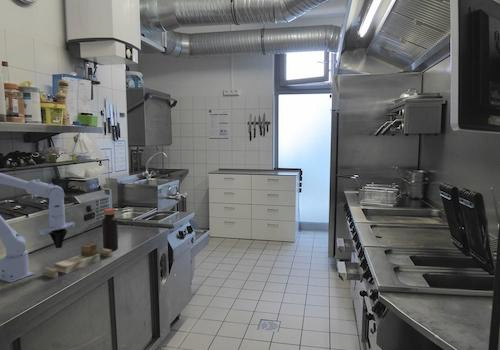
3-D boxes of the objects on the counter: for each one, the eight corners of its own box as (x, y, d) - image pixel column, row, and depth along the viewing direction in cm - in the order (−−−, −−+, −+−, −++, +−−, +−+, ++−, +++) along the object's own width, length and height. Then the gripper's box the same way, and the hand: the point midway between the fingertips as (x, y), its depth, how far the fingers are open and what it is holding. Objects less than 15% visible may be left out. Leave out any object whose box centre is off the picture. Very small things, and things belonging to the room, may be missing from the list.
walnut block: (88, 257, 154) (88, 247, 153) (81, 255, 156) (80, 245, 155) (96, 254, 158) (96, 244, 157) (89, 252, 160) (89, 242, 159)
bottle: (113, 251, 170) (111, 211, 168) (100, 250, 172) (98, 210, 170) (120, 247, 177) (119, 208, 175) (108, 246, 178) (107, 207, 176)
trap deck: (54, 278, 138) (54, 270, 138) (42, 275, 141) (42, 267, 141) (112, 256, 164) (112, 249, 164) (101, 253, 167) (101, 247, 167)
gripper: (46, 220, 137) (48, 254, 138) (79, 213, 150) (80, 244, 151) (35, 218, 140) (36, 251, 141) (67, 211, 153) (69, 241, 154)
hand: (58, 247), depth 146 cm, fingers closed
